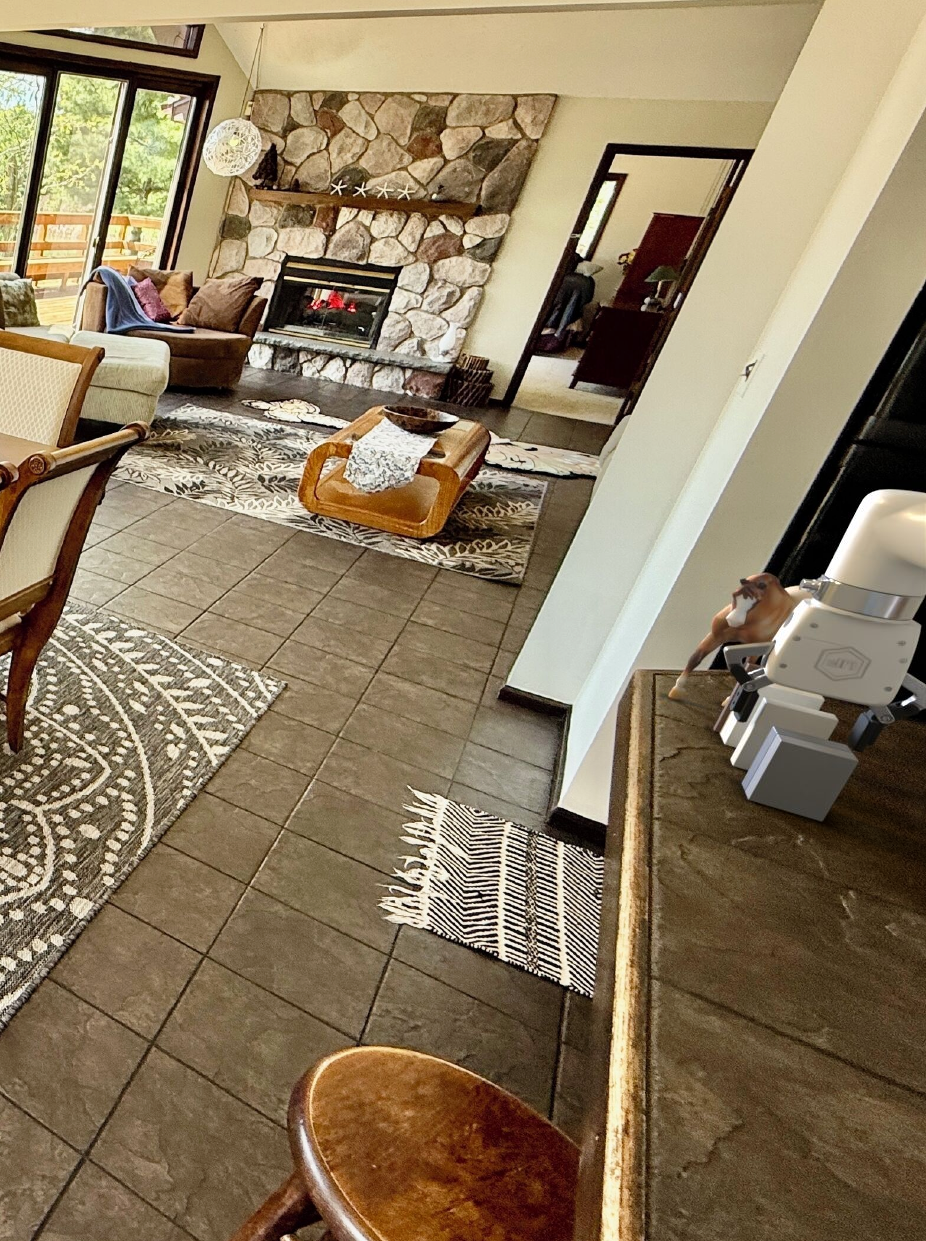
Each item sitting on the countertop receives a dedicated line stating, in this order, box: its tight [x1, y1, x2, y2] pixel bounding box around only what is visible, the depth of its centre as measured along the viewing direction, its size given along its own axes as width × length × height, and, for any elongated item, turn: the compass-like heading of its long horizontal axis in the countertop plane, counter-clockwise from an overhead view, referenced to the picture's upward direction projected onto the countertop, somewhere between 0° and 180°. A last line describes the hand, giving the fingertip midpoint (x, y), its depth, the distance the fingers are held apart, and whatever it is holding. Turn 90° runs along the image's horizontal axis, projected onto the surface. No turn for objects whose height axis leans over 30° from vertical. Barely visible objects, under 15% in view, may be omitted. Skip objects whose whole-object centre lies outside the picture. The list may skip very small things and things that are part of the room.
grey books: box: [741, 726, 860, 822], centre depth 101 cm, size 6×4×8 cm
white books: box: [713, 663, 826, 749], centre depth 112 cm, size 7×5×10 cm
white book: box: [730, 697, 840, 771], centre depth 106 cm, size 6×2×9 cm, turn 51°
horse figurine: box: [668, 572, 813, 708], centre depth 123 cm, size 31×8×21 cm, turn 100°
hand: (794, 732), depth 105 cm, fingers open, 9 cm apart
